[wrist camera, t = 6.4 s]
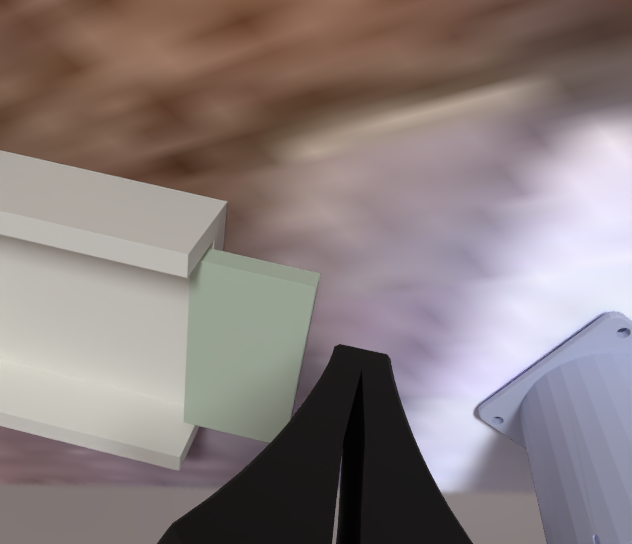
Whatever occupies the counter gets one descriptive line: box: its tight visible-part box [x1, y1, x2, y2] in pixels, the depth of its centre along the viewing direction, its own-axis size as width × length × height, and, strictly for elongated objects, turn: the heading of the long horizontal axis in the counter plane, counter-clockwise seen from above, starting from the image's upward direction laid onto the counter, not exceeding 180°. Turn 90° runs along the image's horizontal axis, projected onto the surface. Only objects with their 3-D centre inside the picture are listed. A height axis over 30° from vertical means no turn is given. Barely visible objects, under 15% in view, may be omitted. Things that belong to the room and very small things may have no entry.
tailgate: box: [183, 248, 320, 443], centre depth 24 cm, size 2×9×5 cm
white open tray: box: [0, 150, 227, 471], centre depth 24 cm, size 12×12×4 cm
